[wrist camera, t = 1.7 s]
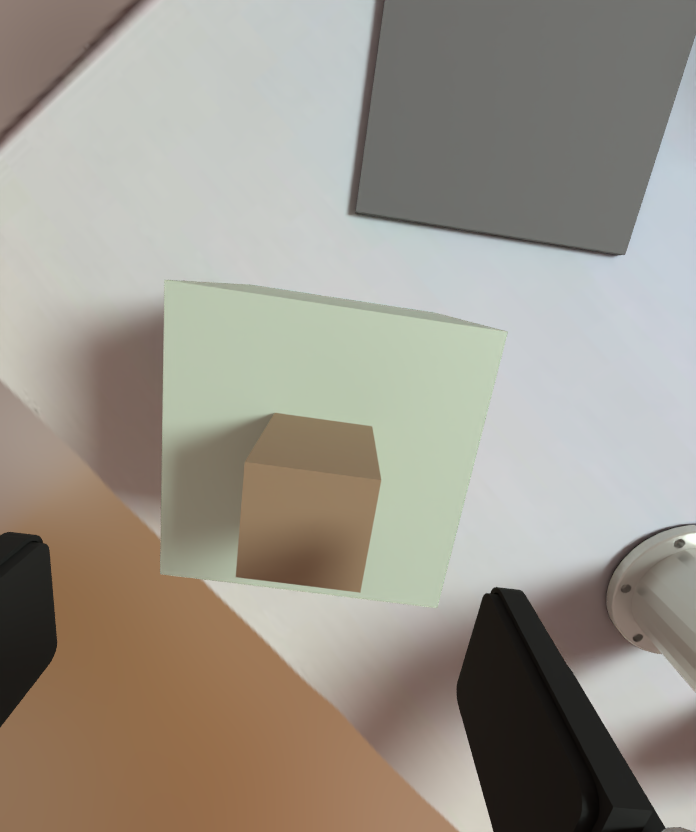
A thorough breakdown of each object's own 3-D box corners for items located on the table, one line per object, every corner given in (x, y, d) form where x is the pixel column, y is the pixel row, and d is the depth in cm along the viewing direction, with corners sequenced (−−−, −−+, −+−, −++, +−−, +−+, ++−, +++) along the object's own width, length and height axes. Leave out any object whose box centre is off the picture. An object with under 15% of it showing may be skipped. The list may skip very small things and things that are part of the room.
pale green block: (435, 312, 29) (577, 349, 11) (401, 479, 33) (465, 711, 15) (250, 284, 28) (79, 275, 10) (237, 457, 32) (96, 669, 14)
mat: (729, -94, 23) (739, -103, 22) (619, 255, 28) (625, 254, 27) (406, -157, 22) (408, -169, 21) (355, 212, 27) (355, 211, 26)
